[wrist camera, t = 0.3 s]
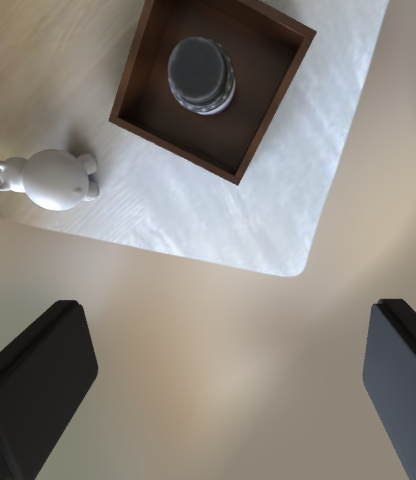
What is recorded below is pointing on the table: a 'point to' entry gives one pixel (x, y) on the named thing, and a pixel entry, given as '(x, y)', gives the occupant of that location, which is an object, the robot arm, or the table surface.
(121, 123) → the box
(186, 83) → the pill bottle
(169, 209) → the table surface
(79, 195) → the toy rhinoceros
